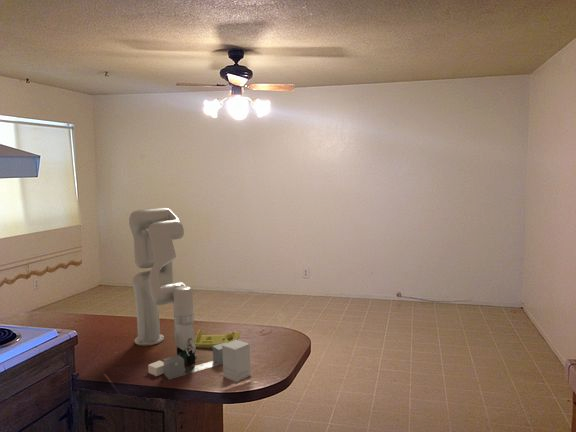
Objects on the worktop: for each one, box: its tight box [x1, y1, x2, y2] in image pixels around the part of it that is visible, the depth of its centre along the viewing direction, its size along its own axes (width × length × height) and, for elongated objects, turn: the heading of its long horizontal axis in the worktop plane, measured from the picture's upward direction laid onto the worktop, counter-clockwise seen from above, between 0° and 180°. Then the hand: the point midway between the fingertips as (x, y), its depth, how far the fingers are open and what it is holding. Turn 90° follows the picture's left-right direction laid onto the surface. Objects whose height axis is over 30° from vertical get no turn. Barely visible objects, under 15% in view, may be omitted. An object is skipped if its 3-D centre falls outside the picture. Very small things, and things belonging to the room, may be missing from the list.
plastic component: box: [194, 329, 242, 349], centre depth 204 cm, size 20×7×10 cm
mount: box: [178, 350, 198, 367], centre depth 185 cm, size 11×4×5 cm, turn 150°
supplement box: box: [222, 339, 252, 384], centre depth 172 cm, size 7×7×13 cm
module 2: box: [212, 343, 227, 366], centre depth 186 cm, size 5×6×6 cm
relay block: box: [147, 359, 164, 377], centre depth 177 cm, size 5×5×4 cm
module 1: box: [162, 354, 186, 380], centre depth 174 cm, size 5×6×6 cm
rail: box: [174, 360, 222, 379], centre depth 180 cm, size 5×26×1 cm, turn 125°
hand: (186, 360), depth 185 cm, fingers open, 9 cm apart
